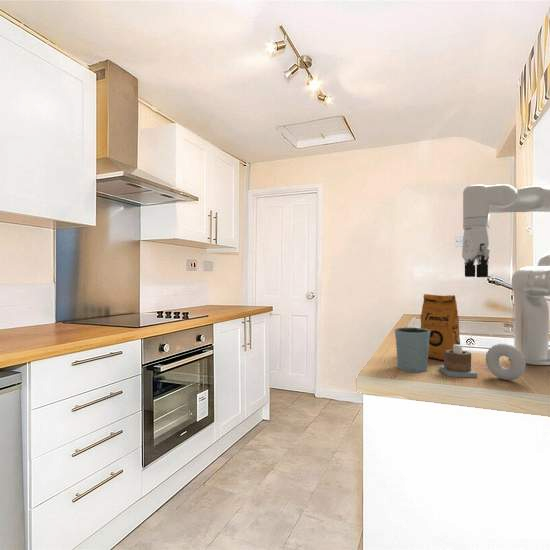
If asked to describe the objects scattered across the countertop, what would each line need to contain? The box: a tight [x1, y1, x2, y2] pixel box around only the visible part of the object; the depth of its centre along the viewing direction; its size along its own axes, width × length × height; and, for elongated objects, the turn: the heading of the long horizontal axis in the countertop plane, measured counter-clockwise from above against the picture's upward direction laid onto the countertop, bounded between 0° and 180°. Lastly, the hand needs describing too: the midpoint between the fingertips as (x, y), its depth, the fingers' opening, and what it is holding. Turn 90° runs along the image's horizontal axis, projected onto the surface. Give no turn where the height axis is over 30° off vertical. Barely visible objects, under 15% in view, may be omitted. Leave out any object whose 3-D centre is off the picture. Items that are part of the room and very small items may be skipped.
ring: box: [443, 350, 472, 372], centre depth 113 cm, size 7×7×5 cm
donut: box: [485, 343, 527, 381], centre depth 106 cm, size 10×4×10 cm, turn 37°
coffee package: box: [420, 293, 461, 361], centre depth 132 cm, size 10×12×22 cm
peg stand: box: [438, 344, 479, 378], centre depth 112 cm, size 8×8×8 cm
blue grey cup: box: [394, 326, 430, 373], centre depth 117 cm, size 10×10×12 cm
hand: (475, 277), depth 125 cm, fingers open, 9 cm apart
